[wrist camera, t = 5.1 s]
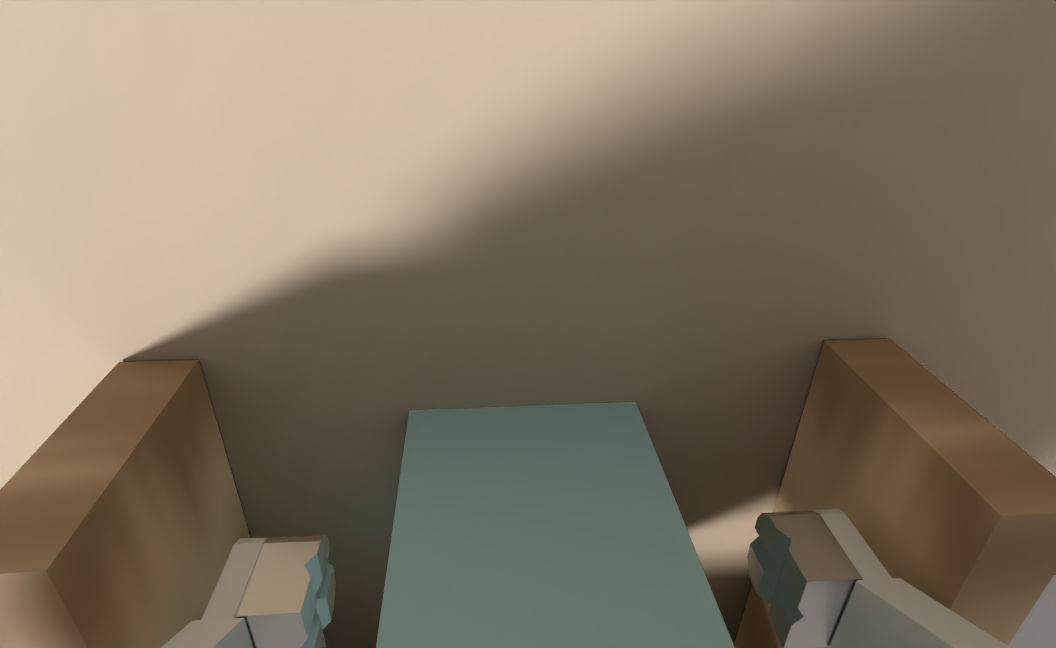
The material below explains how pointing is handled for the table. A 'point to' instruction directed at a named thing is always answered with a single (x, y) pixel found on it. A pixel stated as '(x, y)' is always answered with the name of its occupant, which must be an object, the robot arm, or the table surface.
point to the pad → (1039, 622)
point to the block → (541, 535)
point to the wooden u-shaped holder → (808, 484)
